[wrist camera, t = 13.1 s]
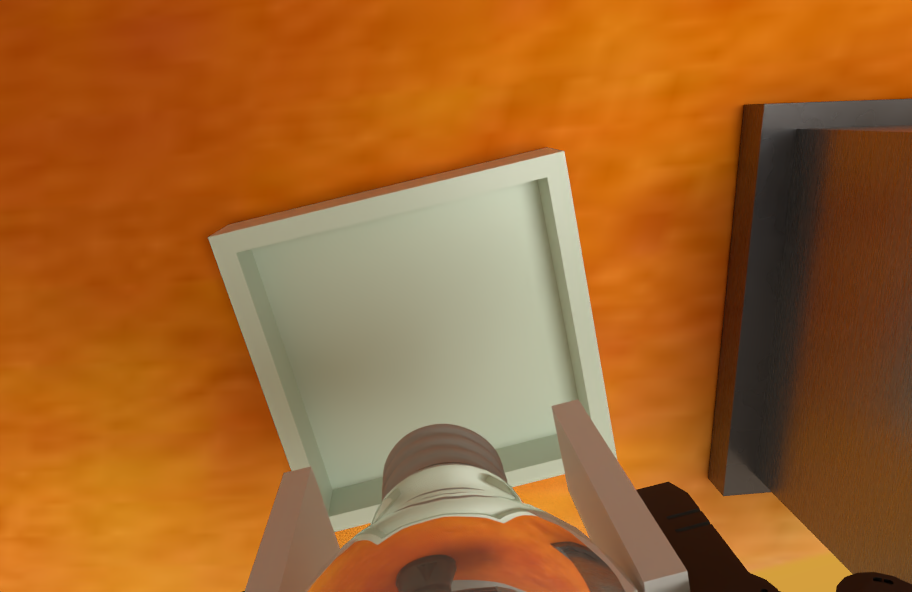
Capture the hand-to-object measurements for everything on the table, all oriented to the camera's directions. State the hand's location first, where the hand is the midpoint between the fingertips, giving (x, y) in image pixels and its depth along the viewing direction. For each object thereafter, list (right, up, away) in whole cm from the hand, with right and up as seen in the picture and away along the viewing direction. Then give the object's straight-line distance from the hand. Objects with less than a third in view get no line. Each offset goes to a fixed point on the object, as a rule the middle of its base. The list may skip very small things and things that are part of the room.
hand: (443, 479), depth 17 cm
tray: (-1, +3, +11) cm, 11 cm away
